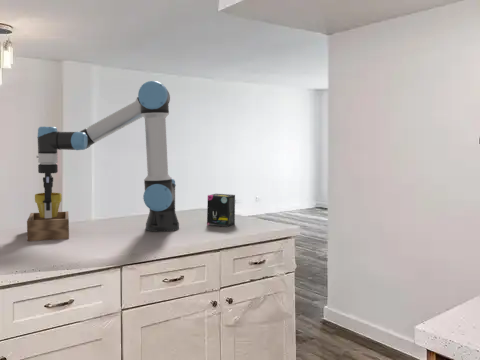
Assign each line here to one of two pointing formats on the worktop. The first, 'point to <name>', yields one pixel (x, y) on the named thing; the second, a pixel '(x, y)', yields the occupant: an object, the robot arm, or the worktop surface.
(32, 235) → the open wooden box
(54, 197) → the plant pot
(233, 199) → the tampon box
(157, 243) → the worktop surface
